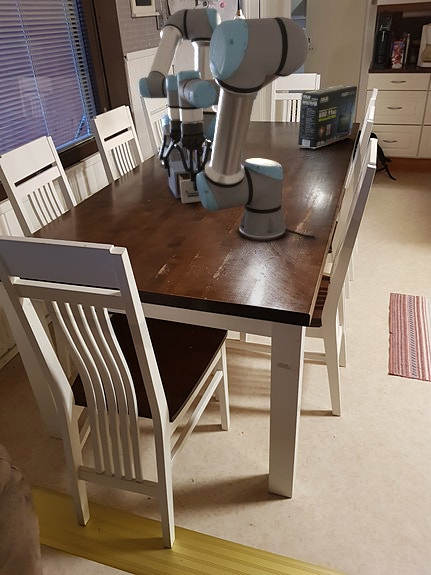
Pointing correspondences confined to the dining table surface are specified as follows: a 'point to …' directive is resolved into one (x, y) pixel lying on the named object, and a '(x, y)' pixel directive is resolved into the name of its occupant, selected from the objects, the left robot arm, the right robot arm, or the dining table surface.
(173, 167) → the cabinet
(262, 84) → the right robot arm
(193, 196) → the drawer
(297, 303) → the dining table surface
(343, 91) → the router box
